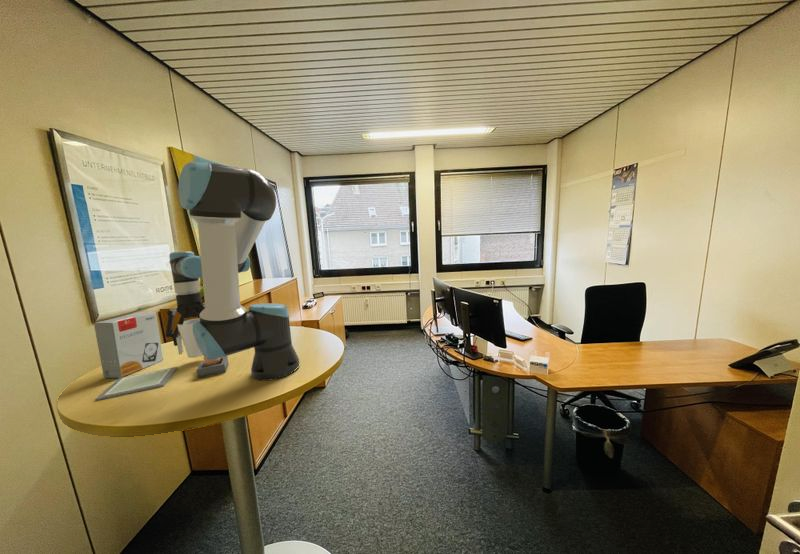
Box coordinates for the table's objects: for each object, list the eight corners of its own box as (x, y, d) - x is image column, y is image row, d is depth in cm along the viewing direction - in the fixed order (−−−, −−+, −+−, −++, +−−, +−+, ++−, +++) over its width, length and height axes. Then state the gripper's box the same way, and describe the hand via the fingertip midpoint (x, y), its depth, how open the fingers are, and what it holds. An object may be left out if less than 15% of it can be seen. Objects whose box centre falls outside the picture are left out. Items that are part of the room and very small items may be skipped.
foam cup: (196, 359, 102) (191, 325, 101) (176, 359, 104) (170, 325, 103) (218, 349, 112) (213, 317, 110) (199, 349, 114) (194, 318, 112)
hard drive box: (120, 378, 97) (109, 323, 94) (102, 378, 98) (91, 323, 96) (164, 359, 112) (156, 311, 110) (148, 359, 113) (140, 311, 111)
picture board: (163, 386, 89) (163, 383, 89) (95, 400, 83) (95, 398, 83) (177, 368, 103) (176, 366, 103) (119, 379, 96) (119, 377, 96)
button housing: (225, 372, 97) (224, 364, 97) (197, 378, 94) (196, 369, 93) (228, 363, 104) (227, 356, 104) (202, 369, 101) (201, 361, 100)
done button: (219, 364, 97) (218, 356, 97) (203, 368, 96) (202, 359, 95) (221, 360, 102) (220, 352, 101) (206, 363, 100) (205, 355, 99)
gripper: (223, 287, 113) (231, 341, 116) (154, 295, 104) (164, 353, 107) (221, 290, 106) (229, 346, 109) (146, 298, 97) (157, 360, 100)
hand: (197, 350), depth 108 cm, fingers closed on foam cup, 9 cm apart
